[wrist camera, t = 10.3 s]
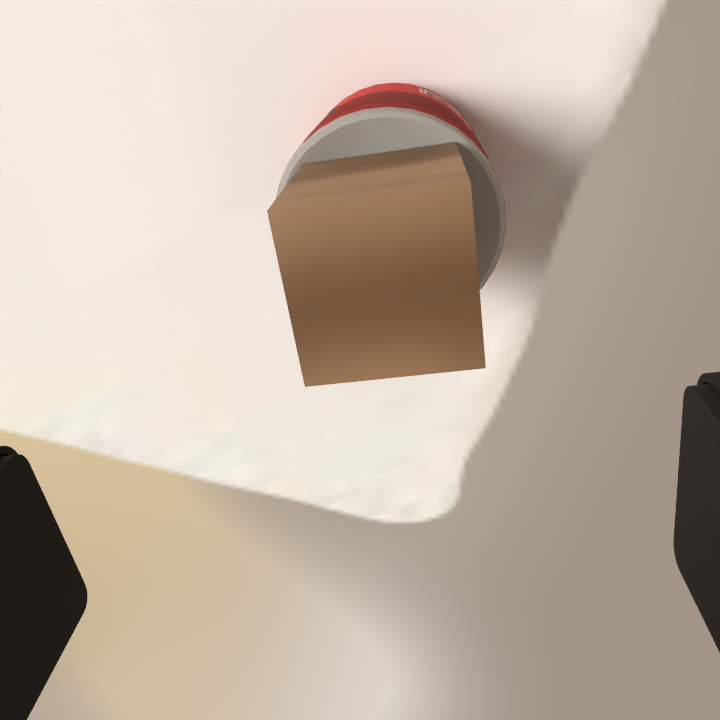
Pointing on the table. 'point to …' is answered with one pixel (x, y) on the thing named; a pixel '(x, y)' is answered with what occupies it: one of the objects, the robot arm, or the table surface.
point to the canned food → (404, 131)
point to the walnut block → (381, 265)
